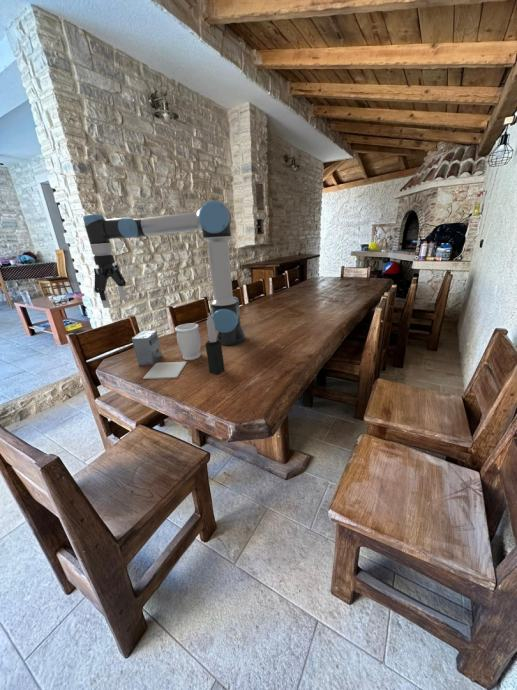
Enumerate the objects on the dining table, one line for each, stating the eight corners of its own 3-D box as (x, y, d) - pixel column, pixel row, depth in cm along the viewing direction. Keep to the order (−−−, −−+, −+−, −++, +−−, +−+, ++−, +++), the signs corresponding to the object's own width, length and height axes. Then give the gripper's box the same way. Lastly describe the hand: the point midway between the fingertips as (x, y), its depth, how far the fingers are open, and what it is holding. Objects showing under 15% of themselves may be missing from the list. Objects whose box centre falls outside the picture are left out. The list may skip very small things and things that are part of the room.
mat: (186, 362, 124) (186, 361, 124) (176, 378, 111) (176, 376, 111) (156, 363, 125) (156, 362, 125) (143, 379, 112) (142, 377, 112)
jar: (197, 361, 124) (192, 330, 119) (176, 361, 126) (170, 330, 121) (206, 352, 134) (201, 322, 128) (186, 351, 136) (181, 322, 130)
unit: (163, 355, 133) (157, 330, 129) (154, 364, 124) (148, 338, 119) (147, 356, 134) (141, 331, 129) (138, 365, 125) (131, 338, 120)
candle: (217, 374, 112) (209, 315, 102) (208, 372, 114) (199, 314, 105) (225, 369, 115) (218, 311, 106) (216, 367, 118) (208, 310, 109)
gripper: (111, 252, 129) (122, 297, 137) (74, 257, 106) (90, 311, 114) (126, 252, 128) (137, 297, 136) (92, 256, 105) (107, 310, 113)
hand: (115, 303), depth 125 cm, fingers open, 13 cm apart
